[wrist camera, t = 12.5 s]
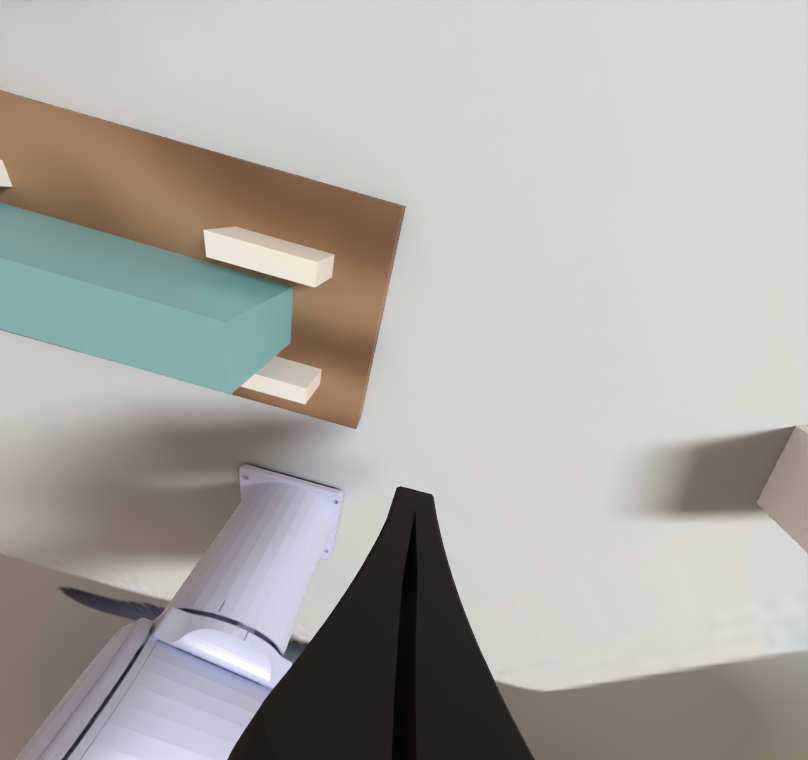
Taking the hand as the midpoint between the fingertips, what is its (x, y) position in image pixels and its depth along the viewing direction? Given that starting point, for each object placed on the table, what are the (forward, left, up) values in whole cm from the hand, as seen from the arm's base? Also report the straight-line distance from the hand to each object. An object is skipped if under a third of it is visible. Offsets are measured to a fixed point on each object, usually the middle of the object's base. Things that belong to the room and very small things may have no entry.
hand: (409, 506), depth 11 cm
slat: (+3, +16, -6) cm, 17 cm away
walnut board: (+3, +15, -7) cm, 17 cm away
